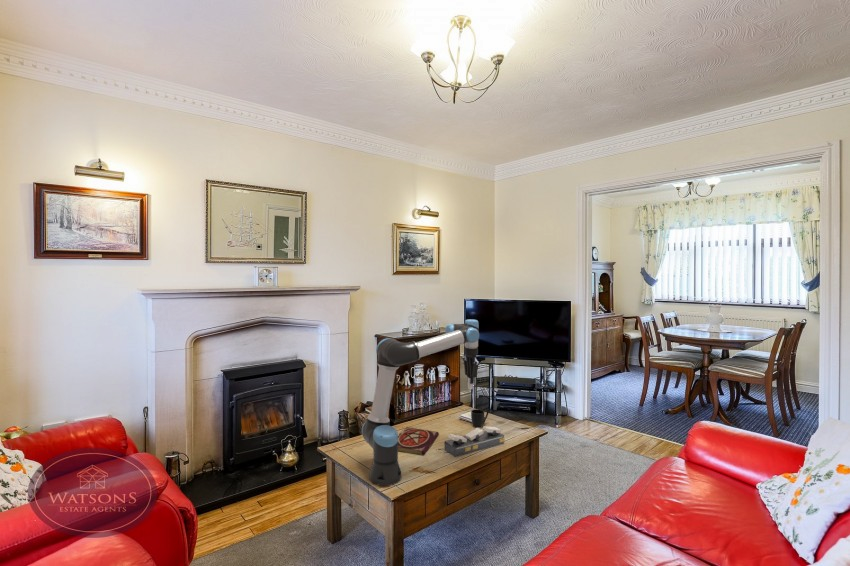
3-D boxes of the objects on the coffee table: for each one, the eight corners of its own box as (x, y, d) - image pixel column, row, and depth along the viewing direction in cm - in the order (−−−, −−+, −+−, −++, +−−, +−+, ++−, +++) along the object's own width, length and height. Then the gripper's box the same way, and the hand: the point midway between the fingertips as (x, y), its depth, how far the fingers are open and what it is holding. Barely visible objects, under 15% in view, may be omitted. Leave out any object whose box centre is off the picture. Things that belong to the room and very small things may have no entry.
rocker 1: (452, 442, 226) (454, 436, 226) (447, 439, 231) (449, 433, 231) (465, 445, 230) (467, 439, 231) (460, 441, 235) (461, 436, 235)
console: (454, 457, 224) (455, 447, 224) (444, 449, 233) (444, 441, 233) (504, 443, 241) (504, 435, 241) (493, 437, 250) (493, 429, 250)
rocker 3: (488, 434, 238) (489, 429, 238) (482, 431, 243) (483, 426, 243) (499, 435, 243) (501, 430, 243) (494, 432, 247) (495, 427, 247)
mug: (491, 426, 267) (491, 411, 267) (475, 429, 262) (475, 414, 262) (484, 422, 275) (484, 407, 274) (468, 425, 270) (468, 410, 269)
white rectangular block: (471, 442, 233) (470, 437, 232) (466, 439, 237) (465, 434, 237) (484, 435, 237) (483, 430, 236) (478, 432, 241) (477, 427, 241)
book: (424, 457, 226) (424, 448, 226) (387, 451, 232) (387, 442, 232) (438, 437, 253) (438, 429, 253) (405, 432, 259) (405, 424, 259)
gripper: (483, 348, 233) (482, 391, 234) (469, 344, 244) (468, 385, 245) (472, 349, 229) (471, 392, 230) (459, 345, 240) (458, 386, 241)
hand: (470, 388), depth 237 cm, fingers closed
